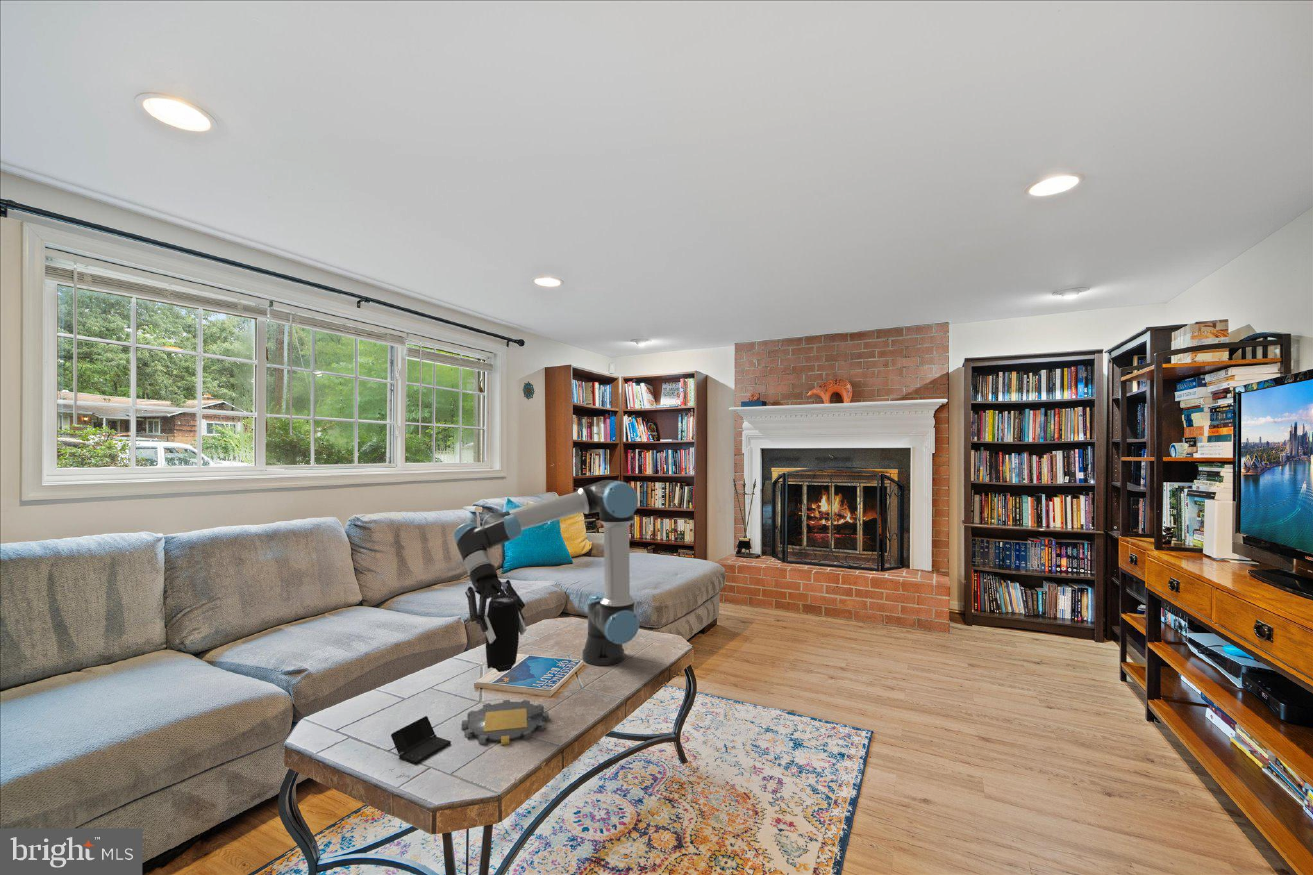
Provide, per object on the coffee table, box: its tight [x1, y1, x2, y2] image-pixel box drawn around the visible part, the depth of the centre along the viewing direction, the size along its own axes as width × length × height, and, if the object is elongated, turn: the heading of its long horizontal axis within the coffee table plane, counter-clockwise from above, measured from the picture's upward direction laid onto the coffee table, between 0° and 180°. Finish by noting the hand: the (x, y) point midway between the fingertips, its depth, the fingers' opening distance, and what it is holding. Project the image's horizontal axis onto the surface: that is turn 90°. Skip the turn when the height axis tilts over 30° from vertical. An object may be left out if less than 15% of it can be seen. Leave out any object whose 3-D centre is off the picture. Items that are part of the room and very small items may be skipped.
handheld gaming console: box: [390, 715, 452, 765], centre depth 142 cm, size 12×7×10 cm
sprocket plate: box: [461, 699, 550, 746], centre depth 156 cm, size 23×23×2 cm
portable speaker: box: [485, 594, 520, 673], centre depth 161 cm, size 9×9×20 cm
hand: (508, 636), depth 159 cm, fingers closed on portable speaker, 9 cm apart
